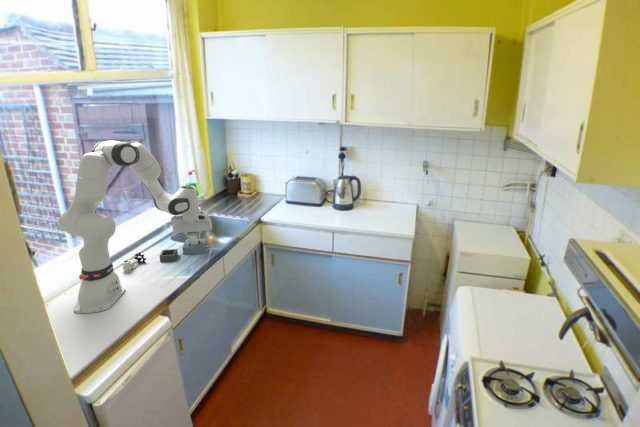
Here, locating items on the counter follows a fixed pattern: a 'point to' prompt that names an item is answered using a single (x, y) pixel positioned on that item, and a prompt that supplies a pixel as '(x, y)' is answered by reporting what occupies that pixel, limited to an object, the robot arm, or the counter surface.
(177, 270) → the counter surface
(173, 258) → the grey square container
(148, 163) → the robot arm
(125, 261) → the valve
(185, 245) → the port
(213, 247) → the counter surface
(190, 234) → the plug
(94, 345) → the counter surface
